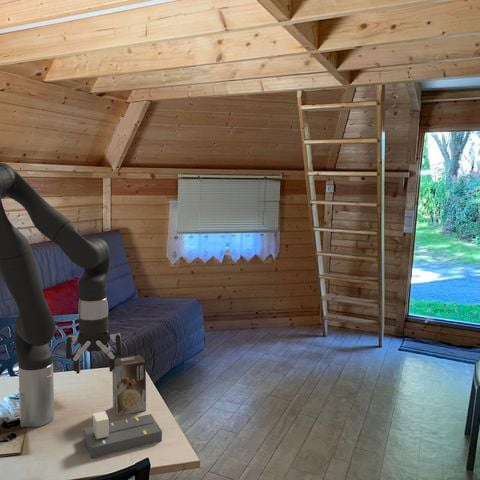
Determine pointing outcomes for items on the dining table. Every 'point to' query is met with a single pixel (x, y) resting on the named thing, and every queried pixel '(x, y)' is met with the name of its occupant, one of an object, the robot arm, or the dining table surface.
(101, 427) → the fader knob
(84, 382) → the dining table surface
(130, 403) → the coffee box
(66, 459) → the dining table surface
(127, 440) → the fader console
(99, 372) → the dining table surface
